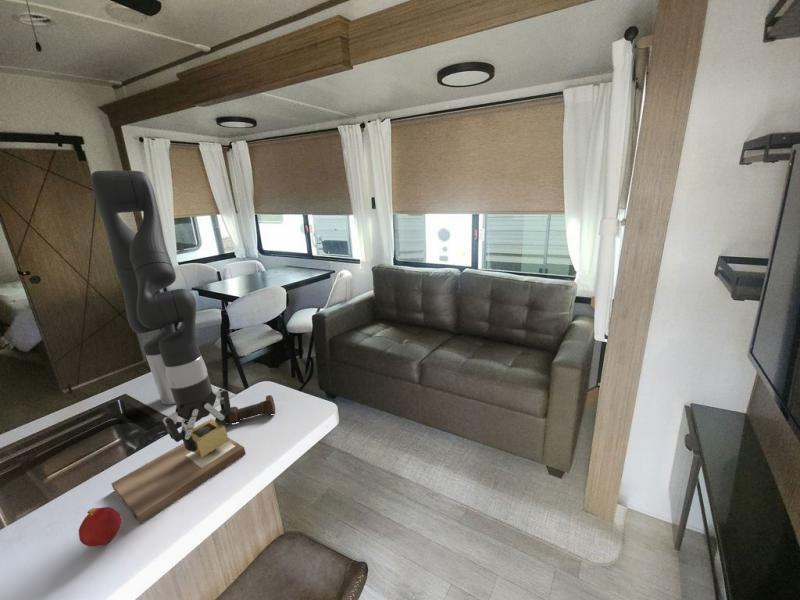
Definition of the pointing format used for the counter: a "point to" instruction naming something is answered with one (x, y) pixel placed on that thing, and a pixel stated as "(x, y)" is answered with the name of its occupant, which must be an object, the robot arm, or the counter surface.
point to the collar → (209, 437)
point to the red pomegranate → (99, 526)
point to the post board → (172, 477)
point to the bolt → (251, 410)
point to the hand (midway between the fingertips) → (207, 441)
